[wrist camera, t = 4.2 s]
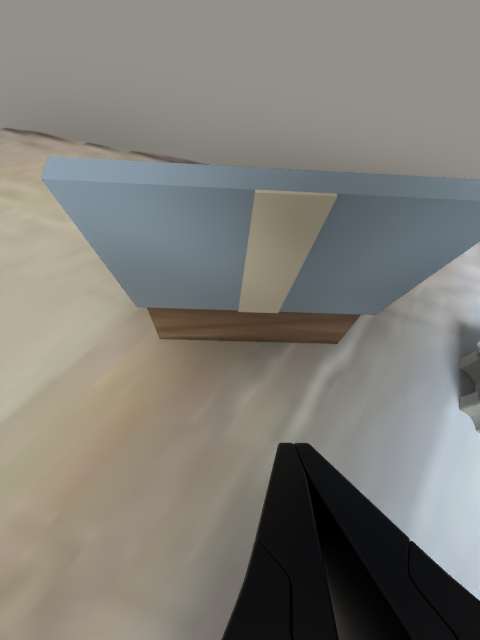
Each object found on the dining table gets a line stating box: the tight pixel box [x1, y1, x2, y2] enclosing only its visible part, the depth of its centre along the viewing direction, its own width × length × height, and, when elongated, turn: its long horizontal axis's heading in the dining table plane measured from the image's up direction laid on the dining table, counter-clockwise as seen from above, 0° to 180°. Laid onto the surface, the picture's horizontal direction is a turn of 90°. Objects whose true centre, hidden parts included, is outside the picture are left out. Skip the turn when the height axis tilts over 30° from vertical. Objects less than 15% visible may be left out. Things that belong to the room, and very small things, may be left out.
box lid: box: [41, 156, 480, 315], centre depth 14 cm, size 10×14×1 cm
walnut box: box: [147, 307, 361, 344], centre depth 24 cm, size 10×14×6 cm
